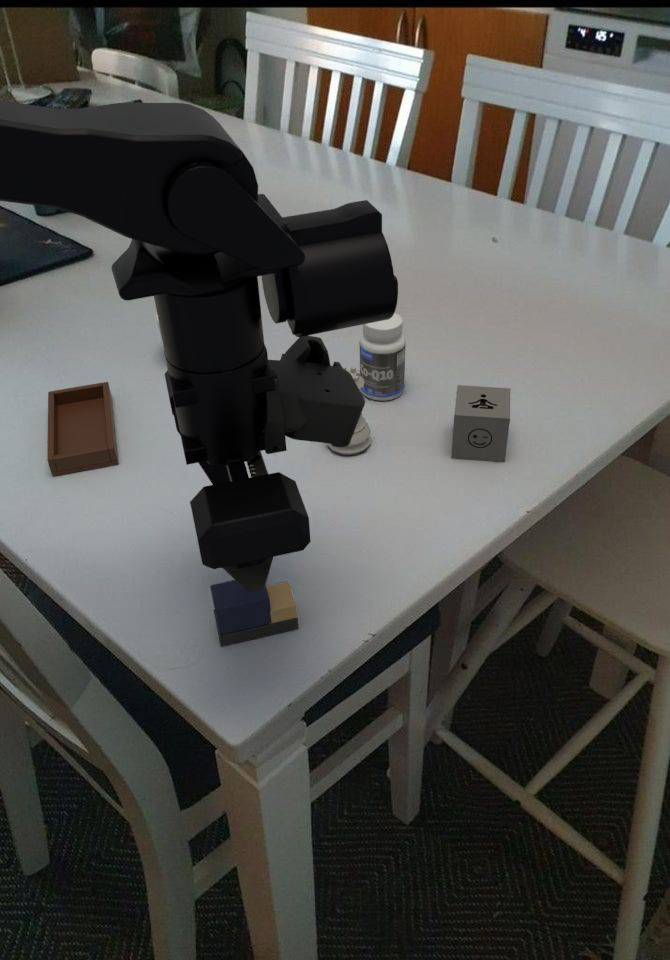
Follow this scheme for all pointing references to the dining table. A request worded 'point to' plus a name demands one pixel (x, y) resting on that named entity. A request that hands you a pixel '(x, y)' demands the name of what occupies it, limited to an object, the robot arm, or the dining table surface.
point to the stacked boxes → (252, 611)
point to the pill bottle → (383, 359)
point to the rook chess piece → (362, 429)
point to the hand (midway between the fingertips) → (243, 542)
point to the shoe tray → (81, 429)
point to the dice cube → (481, 423)
